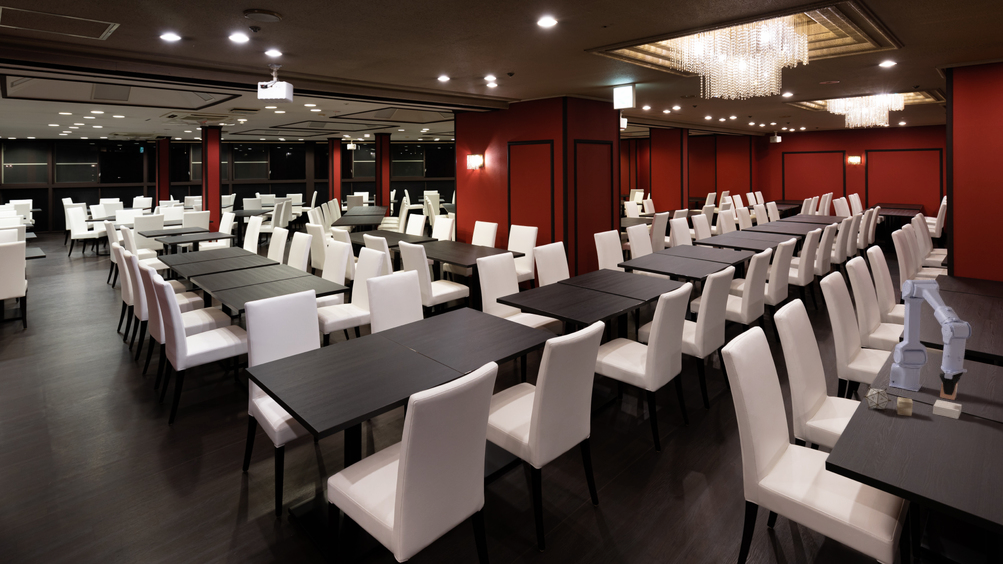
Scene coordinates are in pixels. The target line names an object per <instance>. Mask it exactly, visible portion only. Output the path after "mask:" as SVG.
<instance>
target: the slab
mask: <svg viewBox="0 0 1003 564" xmlns="http://www.w3.org/2000/svg"><path fill="white" fill-rule="evenodd" d="M932 407H933V409H932V414H933V415H938V416H942V417H946V418H951V419H956V420H959V417H960V415H961V414H962V407H963V406H962V404H960V403H955V402H951V401H950V402H949V401H945V400H942V399H941V400H940V399H936V401H935V403H934V404H933V406H932Z"/></svg>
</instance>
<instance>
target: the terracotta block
mask: <svg viewBox="0 0 1003 564" xmlns="http://www.w3.org/2000/svg"><path fill="white" fill-rule="evenodd" d="M940 384H941V385H940V393H939V397H940V398H941V399H942V398H943V399H947V400H951V401H952V400H953V401H955V399H956V398H957V392H958V385H959V384H958V382H957V384H956V386H955V389H954V392H953V394H952V395H947V394H944V389H943V383H942V382H941V383H940Z"/></svg>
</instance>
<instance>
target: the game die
mask: <svg viewBox="0 0 1003 564" xmlns="http://www.w3.org/2000/svg"><path fill="white" fill-rule="evenodd" d="M868 388H869V390H868V392H867V393H866V395H864V396H863V398H865V400H866V402H867V405H868V407H867V410H869V409H870V408H872V409H878V410H883V412H886V407H887V406H888V404H889V402H892V401H893V400H892V399H890V398H889V395H888V393H887V388H884V389H879V388H873V387H872V386H870V385H869V387H868Z"/></svg>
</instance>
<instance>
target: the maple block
mask: <svg viewBox="0 0 1003 564" xmlns="http://www.w3.org/2000/svg"><path fill="white" fill-rule="evenodd" d="M913 404H914V403H913V399H912V398H906V397H900V396H898V397H897V402H896V413H897V415H902V416H909V417H912V414H913V406H914V405H913Z"/></svg>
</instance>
